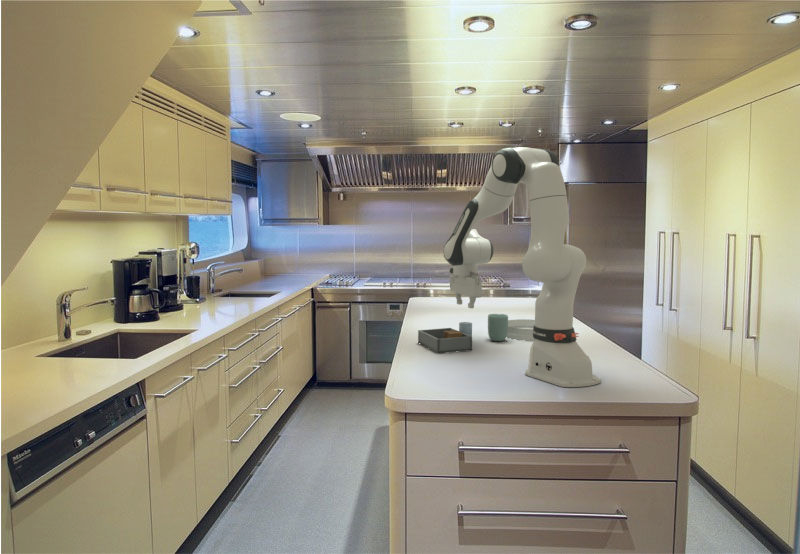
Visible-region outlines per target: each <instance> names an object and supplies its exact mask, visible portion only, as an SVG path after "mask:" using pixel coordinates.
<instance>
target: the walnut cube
mask: <svg viewBox="0 0 800 554" xmlns="http://www.w3.org/2000/svg"><path fill="white" fill-rule="evenodd" d="M456 337H462V332H459V330H457V329H454V330H451V331H444V338H456Z"/></svg>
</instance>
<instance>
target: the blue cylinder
mask: <svg viewBox="0 0 800 554" xmlns="http://www.w3.org/2000/svg"><path fill="white" fill-rule="evenodd" d="M458 328H459V329H458V331H459V332H462V333H464V334H467V335H469V336H472V337H473V323H472V322H470V321H469V322H468V321H461V322H459V323H458Z"/></svg>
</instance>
